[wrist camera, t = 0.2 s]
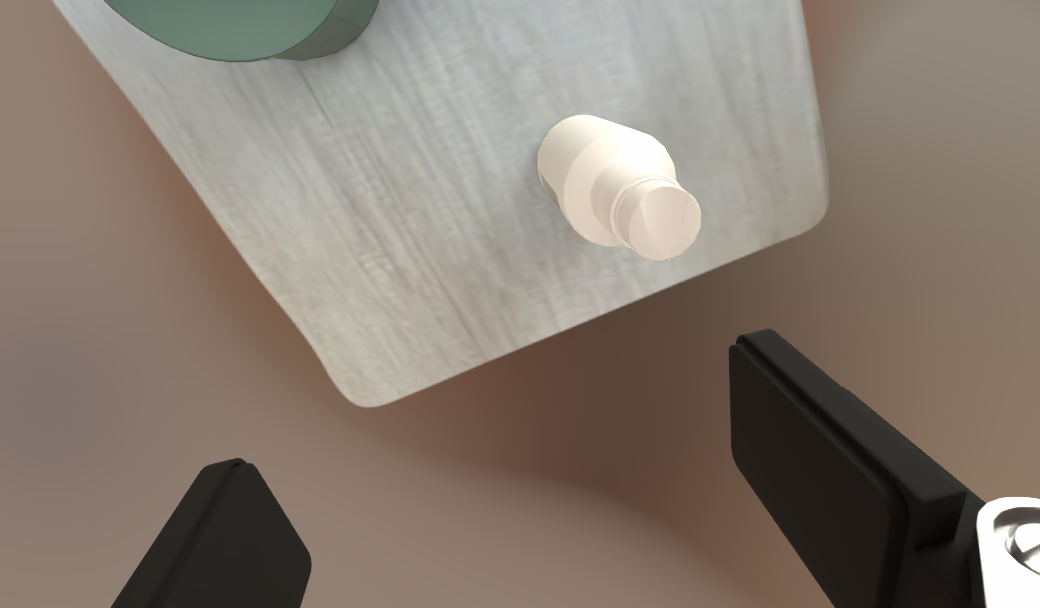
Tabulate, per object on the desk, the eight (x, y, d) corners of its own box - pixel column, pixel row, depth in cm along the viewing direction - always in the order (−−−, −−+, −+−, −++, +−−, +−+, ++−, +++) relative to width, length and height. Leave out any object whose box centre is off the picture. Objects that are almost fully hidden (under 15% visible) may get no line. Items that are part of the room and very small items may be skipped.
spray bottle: (541, 210, 39) (596, 306, 23) (530, 122, 36) (584, 161, 20) (624, 196, 40) (735, 281, 23) (619, 106, 37) (743, 133, 20)
